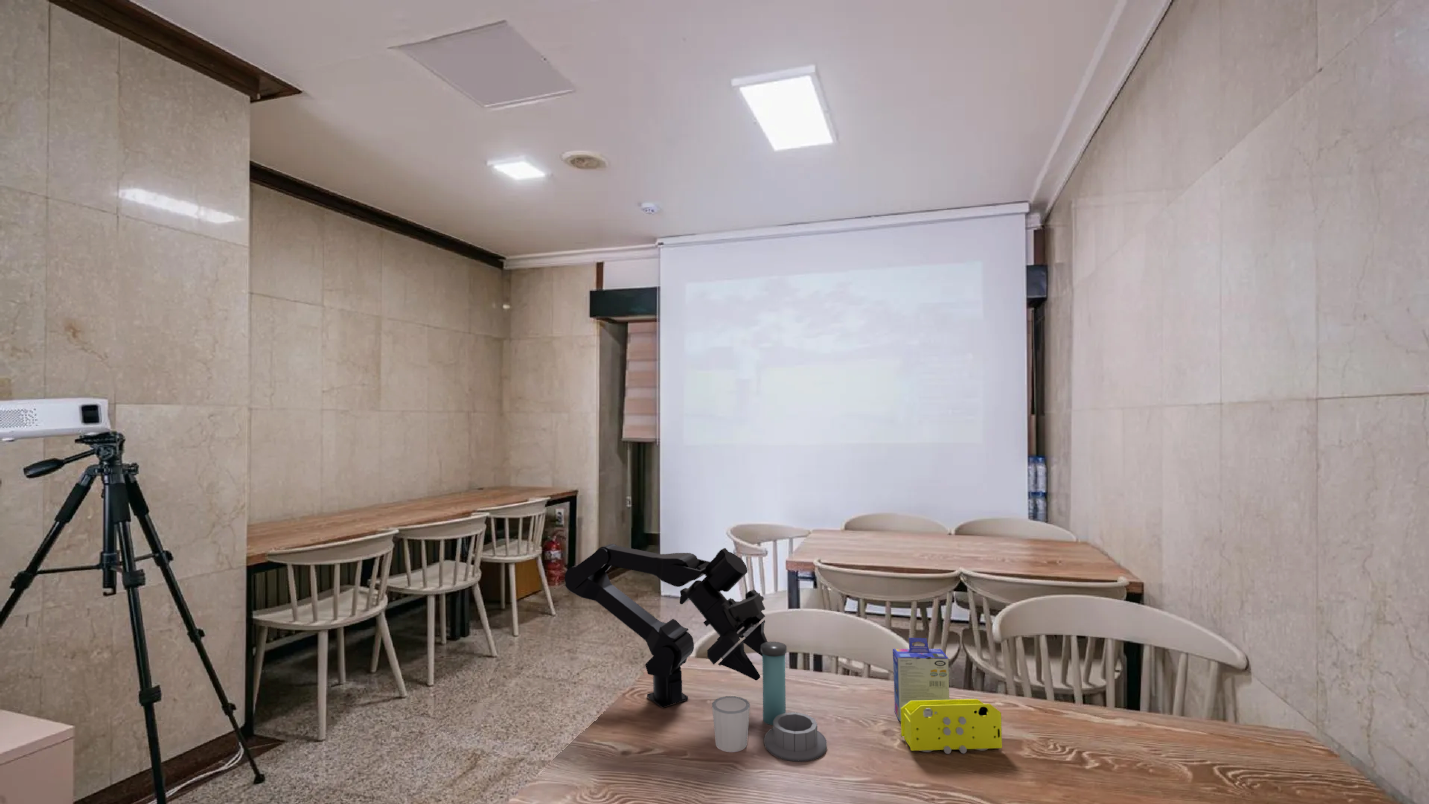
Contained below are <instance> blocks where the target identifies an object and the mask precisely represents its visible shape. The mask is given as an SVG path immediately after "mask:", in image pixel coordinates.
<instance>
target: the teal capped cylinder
mask: <svg viewBox="0 0 1429 804" xmlns="http://www.w3.org/2000/svg"><path fill="white" fill-rule="evenodd" d="M787 650H788V648H787V644H785V643H783V642H780V641H768V642H765V643H763V644H761V653H762V656H761V657H762V659H761V661H762V665H761V666H762V720H763V722H764V723H765V724H767V725H769V726H773V720H774V719H775V718H776V716H778V715H780V714H783V713H787V710H786V709H787V707H786V706H787V701H786V698H787V697H786V654H787Z"/></svg>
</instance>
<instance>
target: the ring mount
mask: <svg viewBox="0 0 1429 804" xmlns="http://www.w3.org/2000/svg"><path fill="white" fill-rule="evenodd" d="M763 740H764V747H765V749H766V750H767V752H769V754H771V755H772V756H774V757H776V758H778V759H781V760H784V761H789V762H795V763H796V762H798V763H799V762H801V763H802V762H809V761H813V760H816V759H819V758H820V757H822V756H823V755H824V754H825V753H826V751H827V748H828V746H827V745H828V744H827V739H826V736H825V735H824V734H823V733H822V732H821V731H819V730H818V723H817V721H816V718H814V717H812V716H811V715H808V714H806V713H801V712H795V711H794V712H793V711H791V712H786V713H783V714H780V715H778V716H776V718H775V719H774V720H773V725H772V728H771V729H769V730H768V731H767V732H766V733H765V734H764V739H763Z"/></svg>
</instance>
